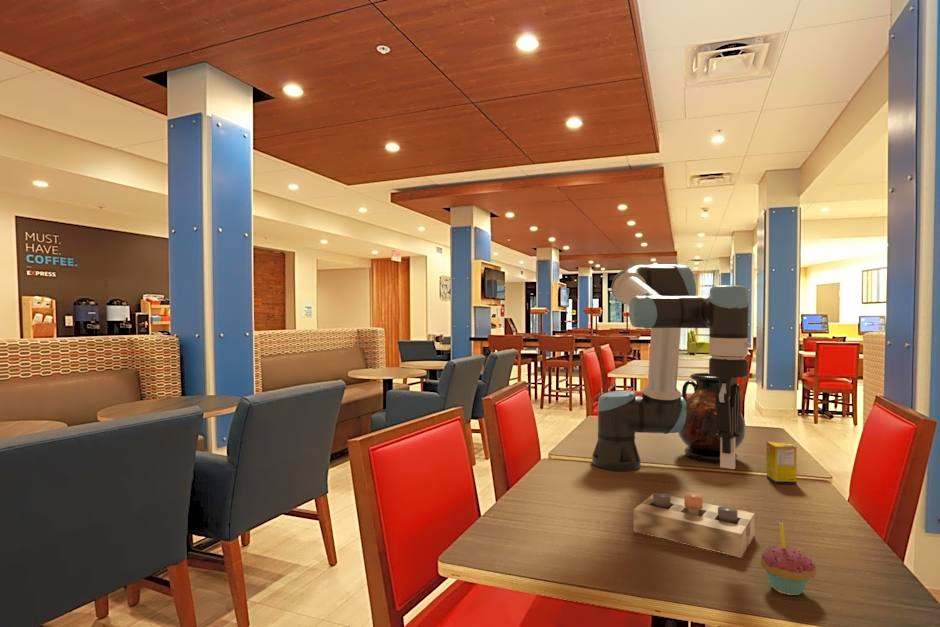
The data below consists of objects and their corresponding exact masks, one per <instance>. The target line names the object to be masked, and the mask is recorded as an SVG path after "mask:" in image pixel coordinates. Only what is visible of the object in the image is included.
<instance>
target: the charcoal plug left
mask: <svg viewBox="0 0 940 627" xmlns="http://www.w3.org/2000/svg"><path fill="white" fill-rule="evenodd" d="M654 493H655V494H654ZM654 493H653V506H655V507H660V508H664V509H669V508H670V507H671V495H670V494H668V493H662V492H654Z"/></svg>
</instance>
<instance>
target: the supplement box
mask: <svg viewBox="0 0 940 627" xmlns="http://www.w3.org/2000/svg"><path fill="white" fill-rule="evenodd" d="M797 463H798V462H797V446H796V445H794V444H791V443H790V442H788V441H766V478H767V479H768V480H769V481H770V482H773V484H779V485H797V475H798V474H797V470H798V469H797Z"/></svg>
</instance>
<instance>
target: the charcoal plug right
mask: <svg viewBox="0 0 940 627" xmlns="http://www.w3.org/2000/svg"><path fill="white" fill-rule="evenodd" d="M719 506H720V505H719ZM737 510H738V509H737V508H735V507H732V506H729V505H728V506H726V505H721V506H720V507H718V520H719V521H724V522H728V523H733V524H736V523H737V517H738V511H737Z"/></svg>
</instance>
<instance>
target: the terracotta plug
mask: <svg viewBox="0 0 940 627" xmlns="http://www.w3.org/2000/svg"><path fill="white" fill-rule="evenodd" d="M683 495H684V496H683V497H684V498H683V499H684V506H685V507H687V508H689V514H692V515H696V516H698V509H702V508H703V503H704V502H703V501H704V496H703V495H702V494H700V493H696V492H685V493H684V494H683Z"/></svg>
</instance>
